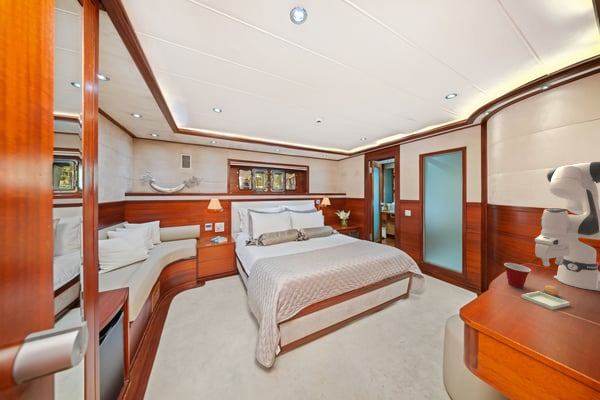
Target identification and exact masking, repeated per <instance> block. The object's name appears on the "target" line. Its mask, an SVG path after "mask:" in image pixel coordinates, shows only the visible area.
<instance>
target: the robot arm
mask: <svg viewBox="0 0 600 400" xmlns="http://www.w3.org/2000/svg"><path fill="white" fill-rule="evenodd" d="M546 179H547V181H548V182H549V191H550V192H551V194H552V195H554V196H556V197H558V198H561V199H564V200H566V201H565V202H566V205H565V206H566V209H564V208H561V207H560V208H558V207H550V208H545V209H544V210H543V212H542V215H541V217H540V220H539V221H540V222H539V223H540V224H539V225H540V227H542V229H541V231H540V235H538V236H537V237H535V238H534V242H535V247H534V250H535V251H534V253H535V256H536V258H539V259H541V260H542V265H543V266H544V267H550V266H551V263H550V262H549V261H550V259H555V260H554V264H555V265H558V268H557V273H556V275H553V278H554V279H556V280H557V281H558V282H560V283H562V284H565V285H568V286H571V287H575V288H579V289H585V290H590V291H597V292H600V270H599V266H600V262H597V249H595V248H594V247H593V246H591V245H589V244H586V243H584V242H582V241H580V240H579V238H582V239H591V240H600V203H599V202H600V201H599V189H598V186H597V184H600V161H592V162H583V163H575V164H571V165H562V166H560V167H554V168H551V169H550V170H548V171H547V174H546ZM568 211H569V212H570V213H573V214H569V212H568Z"/></svg>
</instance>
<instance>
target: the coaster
mask: <svg viewBox="0 0 600 400" xmlns="http://www.w3.org/2000/svg"><path fill="white" fill-rule="evenodd" d="M541 292H542V293H545V291H544V290H543V291H541ZM545 294H547V293H545ZM548 295H549V294H548ZM551 296H552V295H551ZM554 297H556V298H559V299H562V300H563V299H564V298H565V299H566V297H564V296H561V295H559V294H558V295H556V296H554Z"/></svg>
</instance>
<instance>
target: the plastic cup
mask: <svg viewBox="0 0 600 400" xmlns="http://www.w3.org/2000/svg"><path fill="white" fill-rule="evenodd" d="M503 265H504V268H505V273H506V279H507V283H508V285H509V286H511V287H514V288H516V289H517V288H518V289H523V288H524V286H525V284H526V281H527V278H528V275H529V274H530V272H531V271H532V269H530V268H529V267H527V266H524V265H522V264H518V263H513V262H505V263H503Z"/></svg>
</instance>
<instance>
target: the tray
mask: <svg viewBox="0 0 600 400" xmlns="http://www.w3.org/2000/svg"><path fill="white" fill-rule="evenodd" d="M542 292H543V291H540V290H537V291H532V292H527V293H523V294H521V295H520V296H521V297H520V298H521V299H524V300H526V301H528V302H531V303H533V304H535V305H539V306H541V307H543V308H546V309H547V310H551V311H554V310H558V309H562V308H566V307H571V302H570V301H567V300H564V299H563V298H562V299H559V298H556V297H554V296H551V295H548V294H545V293H542Z"/></svg>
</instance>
